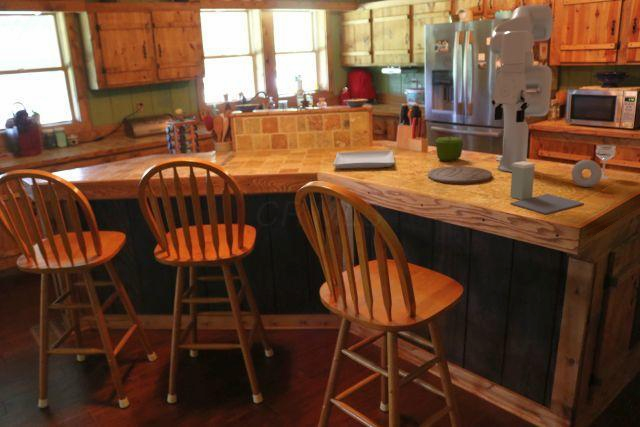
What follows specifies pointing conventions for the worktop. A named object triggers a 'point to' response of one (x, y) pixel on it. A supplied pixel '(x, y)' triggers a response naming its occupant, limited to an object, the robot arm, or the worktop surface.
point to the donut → (589, 165)
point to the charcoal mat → (546, 204)
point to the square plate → (364, 159)
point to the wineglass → (605, 155)
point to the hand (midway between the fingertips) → (508, 120)
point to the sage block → (522, 180)
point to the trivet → (460, 175)
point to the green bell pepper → (449, 148)
